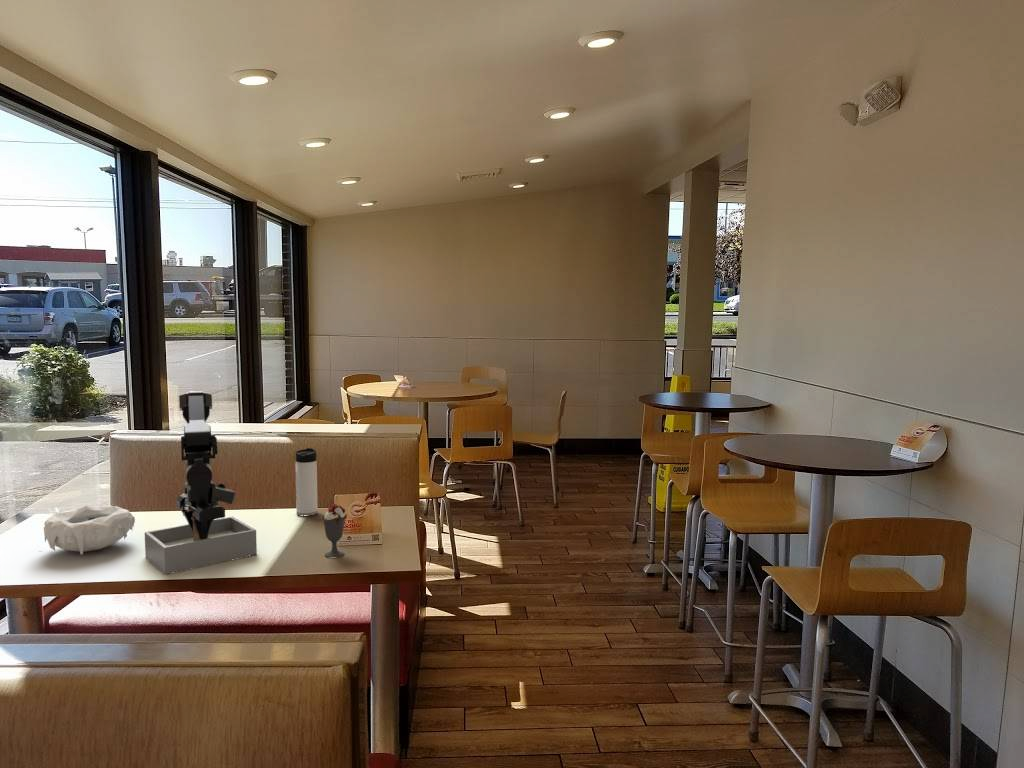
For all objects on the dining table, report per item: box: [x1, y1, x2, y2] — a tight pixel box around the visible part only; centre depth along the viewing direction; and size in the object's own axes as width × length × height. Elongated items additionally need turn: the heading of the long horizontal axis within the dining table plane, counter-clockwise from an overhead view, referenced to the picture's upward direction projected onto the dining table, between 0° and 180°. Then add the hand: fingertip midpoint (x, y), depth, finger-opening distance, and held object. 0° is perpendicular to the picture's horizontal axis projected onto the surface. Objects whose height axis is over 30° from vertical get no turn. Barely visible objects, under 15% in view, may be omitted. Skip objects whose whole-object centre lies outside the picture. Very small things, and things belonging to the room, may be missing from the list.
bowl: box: [43, 504, 136, 556], centre depth 187 cm, size 21×20×10 cm
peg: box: [193, 512, 208, 541], centre depth 182 cm, size 4×4×10 cm
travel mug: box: [295, 447, 319, 516], centre depth 221 cm, size 6×7×20 cm
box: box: [144, 516, 258, 575], centre depth 182 cm, size 16×22×6 cm
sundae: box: [320, 499, 348, 558], centre depth 184 cm, size 7×7×15 cm
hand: (201, 539), depth 182 cm, fingers closed on peg, 3 cm apart
